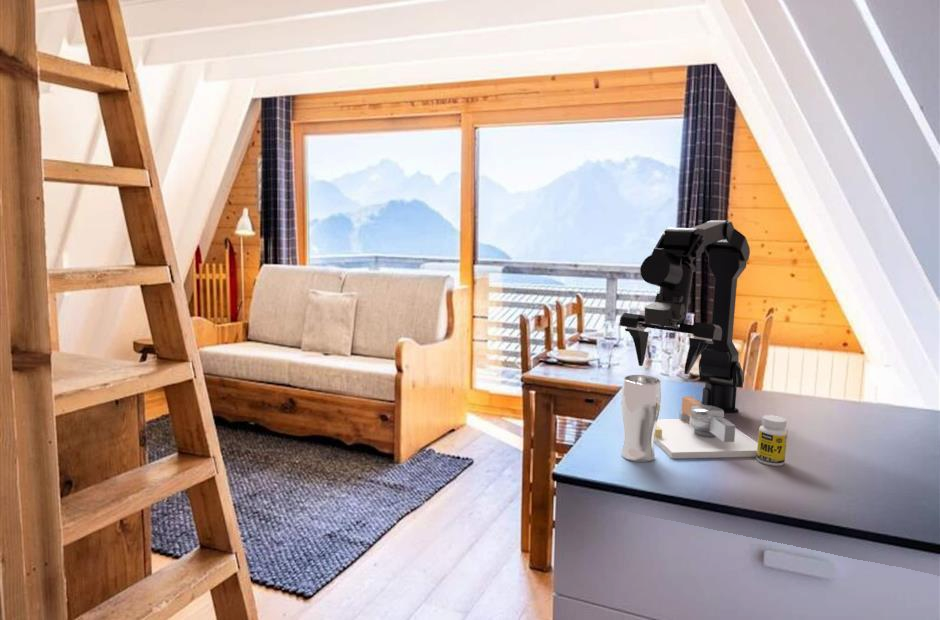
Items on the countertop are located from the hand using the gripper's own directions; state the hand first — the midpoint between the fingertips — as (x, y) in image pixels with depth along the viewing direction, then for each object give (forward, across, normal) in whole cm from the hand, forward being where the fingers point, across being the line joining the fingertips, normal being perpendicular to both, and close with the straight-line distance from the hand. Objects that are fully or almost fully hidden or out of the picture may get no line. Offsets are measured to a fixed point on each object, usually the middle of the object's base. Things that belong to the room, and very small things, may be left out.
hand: (662, 369), depth 125 cm
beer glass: (+17, 0, -6) cm, 18 cm away
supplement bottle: (+14, +20, +8) cm, 25 cm away
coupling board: (+13, +6, +10) cm, 18 cm away
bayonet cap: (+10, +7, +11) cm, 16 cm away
